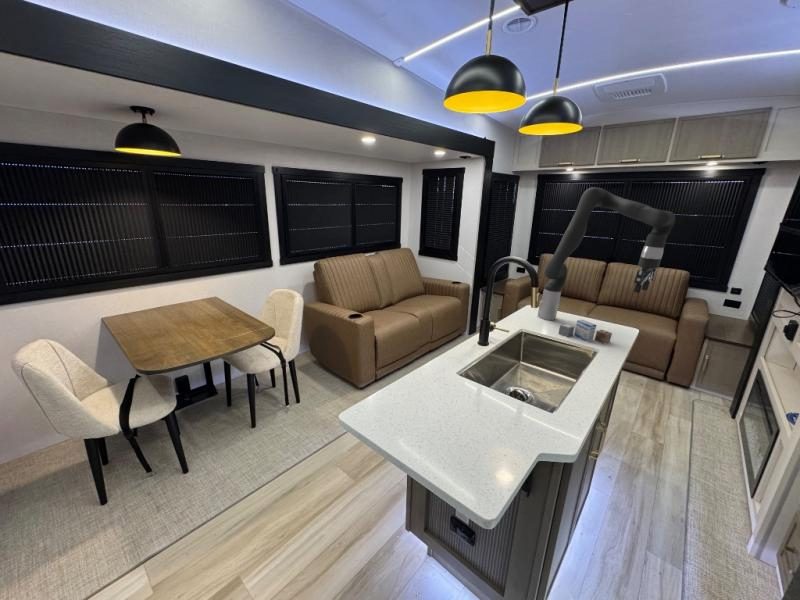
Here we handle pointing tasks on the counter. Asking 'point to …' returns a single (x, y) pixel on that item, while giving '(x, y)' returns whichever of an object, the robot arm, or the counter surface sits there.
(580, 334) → the medicine box
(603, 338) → the walnut block
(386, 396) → the counter surface
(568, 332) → the slate block
